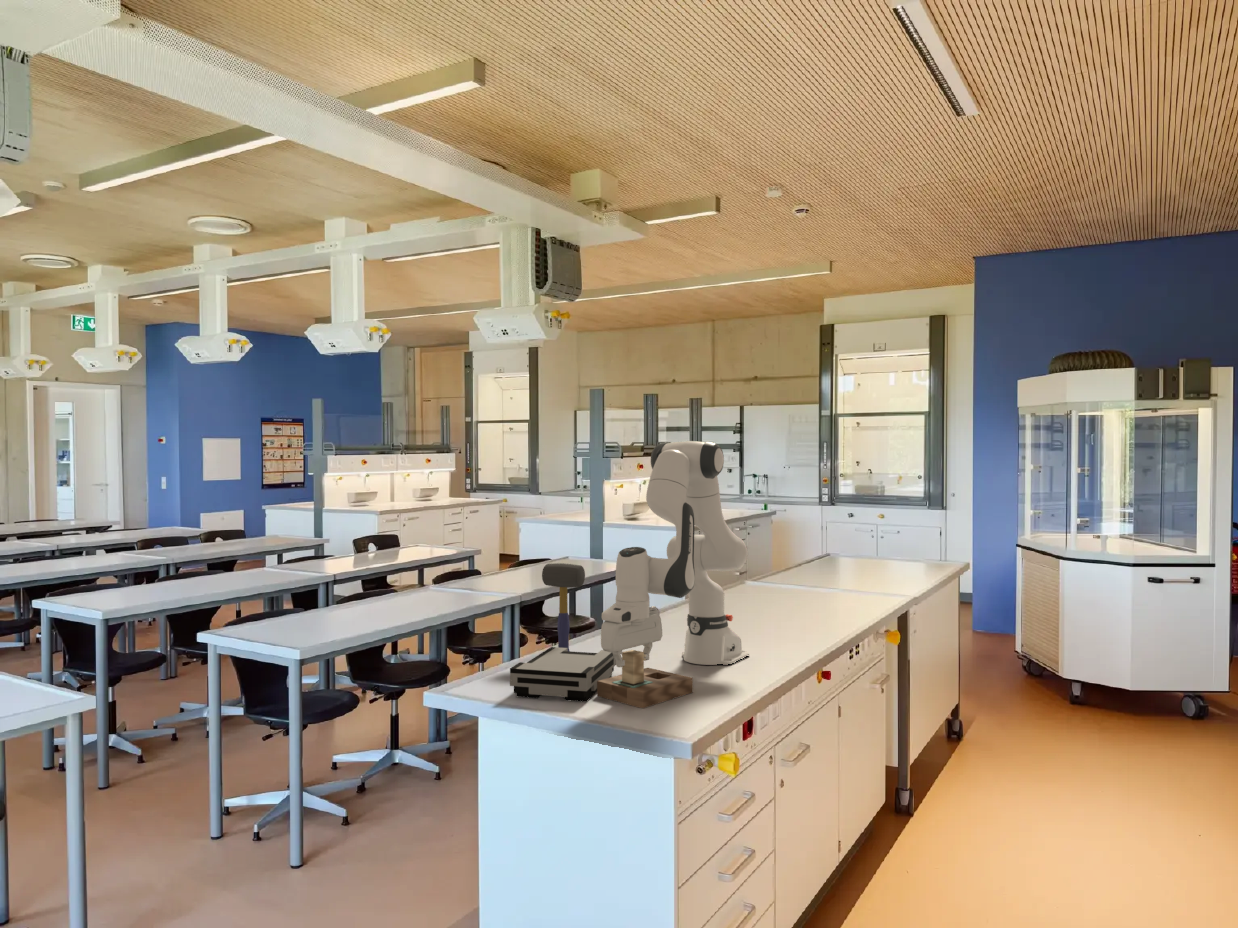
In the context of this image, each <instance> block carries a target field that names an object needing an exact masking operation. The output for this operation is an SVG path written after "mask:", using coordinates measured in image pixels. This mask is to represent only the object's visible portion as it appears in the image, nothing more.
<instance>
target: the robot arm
mask: <svg viewBox="0 0 1238 928" xmlns="http://www.w3.org/2000/svg"><path fill="white" fill-rule="evenodd" d="M724 457H725V456H724V452H723V448H721V447H720V445H719V444H718V443H716V442H711V441H696V440H685V441H675V442H668V441H667V442H666V441H665V442H661V443H659V444H657V445H656V446H655V447H654V448H653V449H652V451H651V454H650V465H651V466H650V467H651V469H652V471H651V473H650V476H649V480H648V485H647V490H646V495H645V499H646V504H647V507H649V509H650V510H651V511H652V513H653V514H655V515H656V516H657V517H659V518H660V519H663V520H664V521H667V522H669V523H671V524H673V525H674V527H675V530H676V531H675V532H676V535H675V536H673V537H671V539H670V540H669V541H668V544H667V546H666V557H667V558H660V557H659V558H658V557H652V556H650V555H649V554H648V552H647V549H646V548H644V547H642V546H641V547H640V546H631V547H625V548H623V549H621V550H620V551H618V554H617V557H616V565H615V586H616V594H615V603H613V604H612V605H610V606H609V607H608V608H606V609H605V610H603V612H601V620H602V621H603V622H602V624H601V630H600V645H601V650H604V651H607V652H613V656H614V657H615V659H616V665H615V666H616V667H617V668H622V667H624V666H625V660H623V659H622V652H623V651H624V650H627V649H631V648H636V647H640V646H643V651H642V652H644V662H646V661H649V660H650V653H651V651H652V648H653V643H655V642H659V641H661V640H662V638H663V626H662V624H663V623H662V618H661V616H660V614H661V612H660V610H659V608H658V607H656V605H652V606H651V605H650V595H649V594H653V595H663V596H668V597H673V598H679V599H682V598H684V597H685V596H688V597H687V598H688V614H687V618H686V622H687V626H688V628H687V629H686V631H685V637H684V651H682V654H681V657H683V660H684V662H687V663H690V664H694V665H704V666H706V665H707V666H712V665H713V666H718V665H717V664H723V666H729V665H728V664H732V663H734V662H735V661H738V660H740V659H741V658H743V657H746V656H747V655H749V656H750V653H749V652H748V651H745V650H743V649H742V648H743V647H742V638H741V637H740V635H738V634H737V633H736V632H735V631H733V629H731V627H729V623H728V621H729V622H732V621H733V619H734V616H733V614H725V591H724V589H723V587H722V586H721V585H720V584H718V583H717V582H715V581H713V580H712V579H711V578H710V576H709V574H708V571H713V572H714V571H718V572H730V571H737V570H741V569H742V568H743V567H744V566H745V564H746V563H747V559H748V555H749V553H748V548H747V547H748V546H747V545H746V543H745V542H744V540H743V539H742V538H741V537H738V536H737V534H735V533H734V532H733V531H732V530H731V528H730V527H729V526H728V524H727V522H726V520H725V518H724V515H723V510H722V504H721V496H720V495H721V493H720V484H719V479H718V475H720V473H721V472H722V471H723V468H724V462H725V458H724ZM695 527H697V528H698V529H699V530H700V531H701V533H703V534H696V533H695ZM740 661H741V660H740ZM738 662H739V661H738ZM734 664H735V663H734ZM732 665H733V664H732Z"/></svg>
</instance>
